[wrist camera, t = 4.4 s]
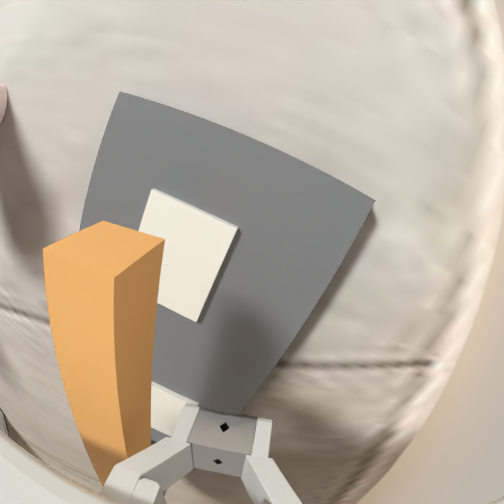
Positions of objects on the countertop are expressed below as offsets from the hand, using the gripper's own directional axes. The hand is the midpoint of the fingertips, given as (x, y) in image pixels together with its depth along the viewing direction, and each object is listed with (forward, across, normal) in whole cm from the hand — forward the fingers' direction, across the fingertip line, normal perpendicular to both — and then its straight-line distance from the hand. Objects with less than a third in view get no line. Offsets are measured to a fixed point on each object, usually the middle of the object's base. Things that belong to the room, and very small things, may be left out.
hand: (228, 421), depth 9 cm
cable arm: (+1, +5, +6) cm, 7 cm away
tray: (+6, +5, +1) cm, 8 cm away
